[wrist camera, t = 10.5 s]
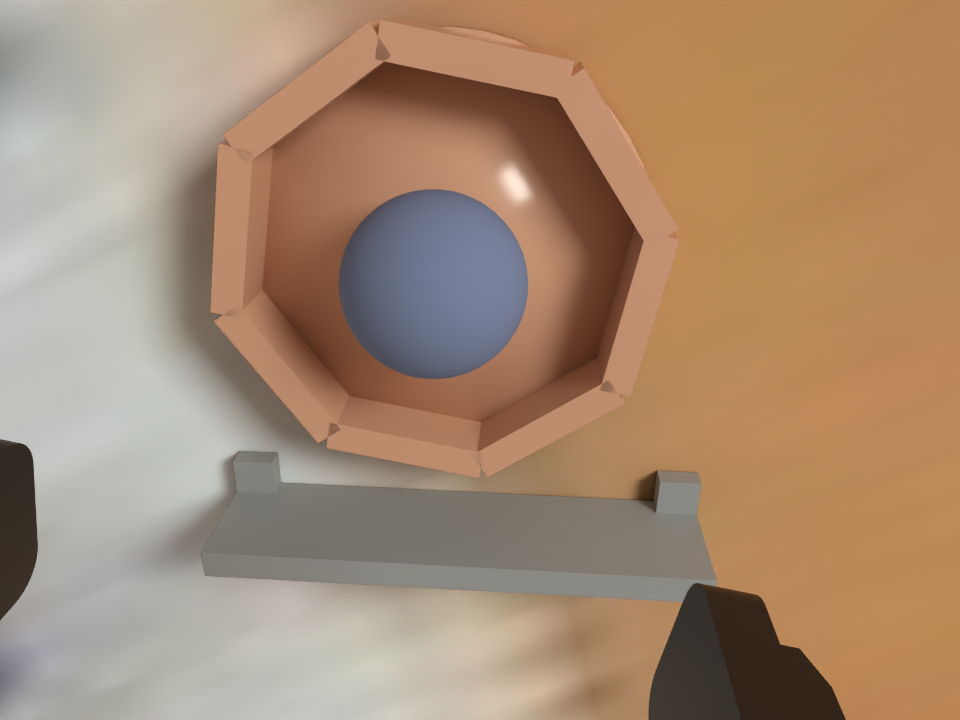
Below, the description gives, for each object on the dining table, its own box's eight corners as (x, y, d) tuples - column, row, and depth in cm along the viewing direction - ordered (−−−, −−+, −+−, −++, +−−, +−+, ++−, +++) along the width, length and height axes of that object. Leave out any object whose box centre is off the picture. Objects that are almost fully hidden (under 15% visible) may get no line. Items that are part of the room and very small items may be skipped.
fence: (697, 472, 24) (723, 547, 20) (684, 552, 25) (706, 634, 22) (239, 450, 24) (195, 519, 21) (250, 529, 26) (210, 606, 22)
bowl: (709, 77, 19) (731, 88, 17) (594, 457, 24) (600, 505, 21) (257, -19, 19) (220, -20, 16) (232, 385, 23) (201, 426, 21)
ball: (546, 191, 19) (548, 240, 15) (509, 349, 21) (503, 430, 17) (371, 155, 19) (329, 195, 15) (349, 317, 21) (307, 390, 17)
